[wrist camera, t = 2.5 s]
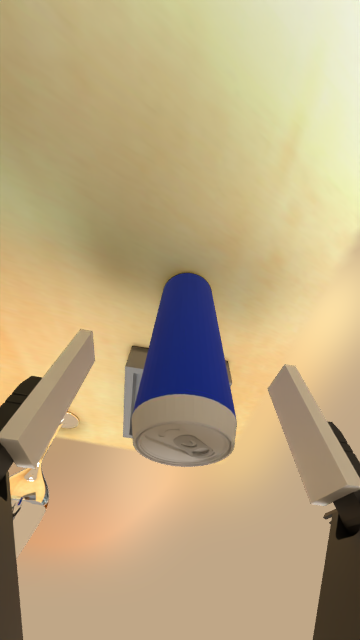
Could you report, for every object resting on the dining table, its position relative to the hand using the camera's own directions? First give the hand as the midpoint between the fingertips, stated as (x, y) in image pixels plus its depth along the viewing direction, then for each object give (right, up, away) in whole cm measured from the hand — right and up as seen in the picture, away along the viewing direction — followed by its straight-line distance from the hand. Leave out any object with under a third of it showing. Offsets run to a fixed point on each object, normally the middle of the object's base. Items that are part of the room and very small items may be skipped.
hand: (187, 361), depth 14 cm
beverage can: (0, +6, +8) cm, 10 cm away
